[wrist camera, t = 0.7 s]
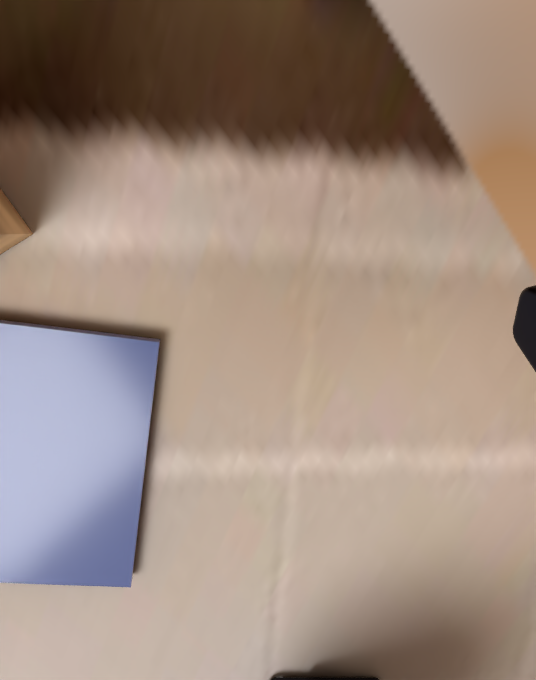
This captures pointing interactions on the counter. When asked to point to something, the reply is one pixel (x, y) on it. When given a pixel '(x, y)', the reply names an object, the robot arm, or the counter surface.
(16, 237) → the oak block
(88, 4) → the counter surface
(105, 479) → the blue tile
